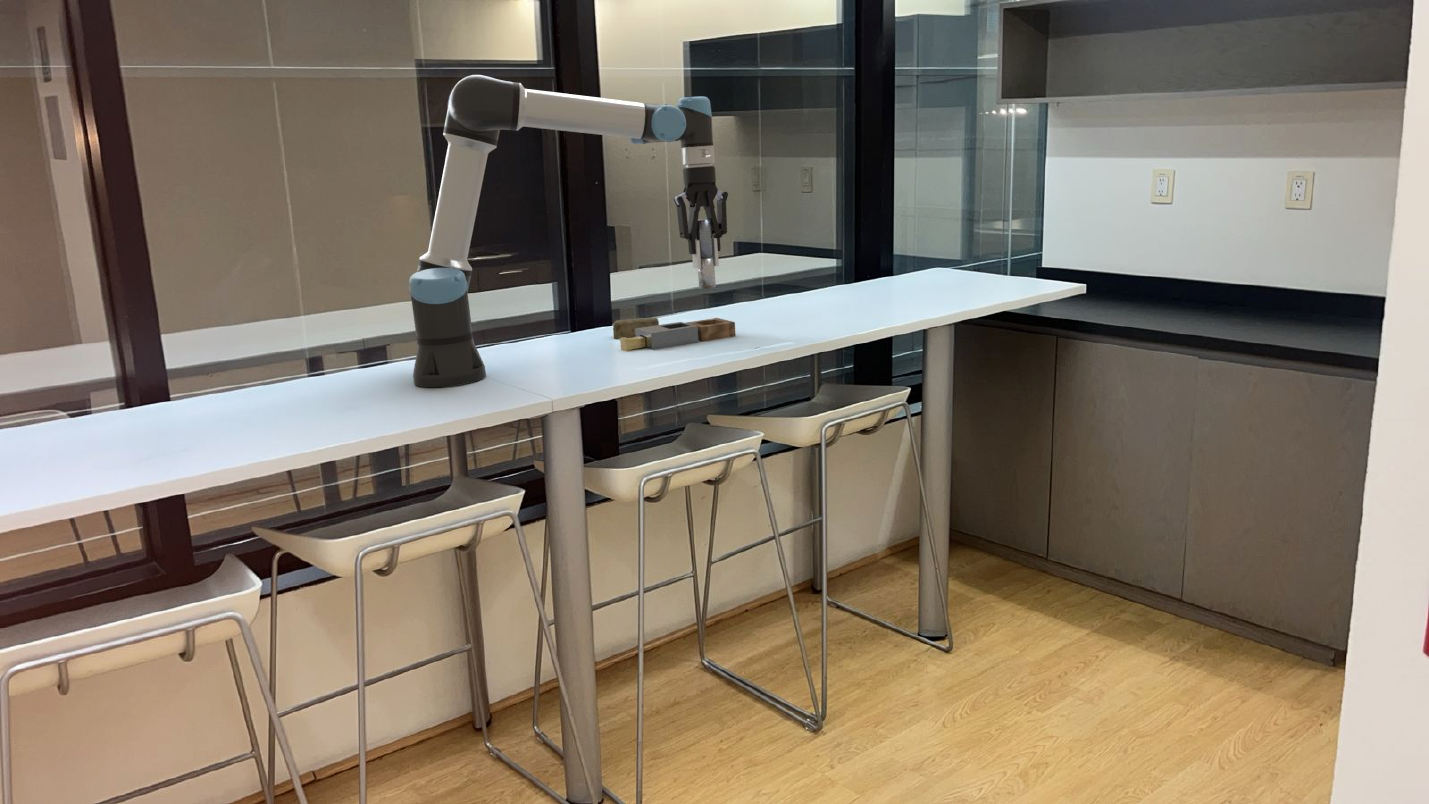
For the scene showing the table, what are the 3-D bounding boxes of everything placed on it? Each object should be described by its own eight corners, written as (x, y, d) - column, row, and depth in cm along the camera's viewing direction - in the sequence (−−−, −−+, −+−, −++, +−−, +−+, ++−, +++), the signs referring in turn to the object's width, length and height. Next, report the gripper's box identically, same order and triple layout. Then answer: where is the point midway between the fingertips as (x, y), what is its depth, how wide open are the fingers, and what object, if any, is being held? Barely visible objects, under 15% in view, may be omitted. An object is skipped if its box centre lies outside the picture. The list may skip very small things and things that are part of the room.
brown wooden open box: (702, 343, 249) (701, 327, 248) (685, 339, 257) (684, 322, 256) (735, 338, 253) (734, 322, 252) (717, 333, 261) (716, 317, 260)
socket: (652, 352, 243) (651, 333, 242) (636, 346, 251) (635, 328, 250) (698, 344, 249) (697, 326, 248) (681, 339, 256) (680, 321, 255)
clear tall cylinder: (703, 289, 249) (698, 220, 246) (696, 287, 253) (691, 220, 249) (718, 287, 251) (713, 219, 247) (711, 285, 255) (706, 218, 251)
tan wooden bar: (626, 351, 243) (625, 339, 243) (621, 349, 246) (620, 337, 245) (660, 346, 247) (659, 334, 247) (654, 344, 250) (653, 332, 249)
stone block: (660, 338, 260) (658, 318, 259) (613, 342, 260) (611, 322, 259) (660, 334, 266) (658, 315, 265) (614, 338, 266) (612, 319, 264)
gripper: (672, 168, 238) (680, 272, 244) (738, 163, 246) (745, 263, 251) (658, 168, 245) (666, 269, 250) (723, 163, 252) (729, 261, 258)
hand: (705, 266), depth 251 cm, fingers closed on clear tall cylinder, 4 cm apart
